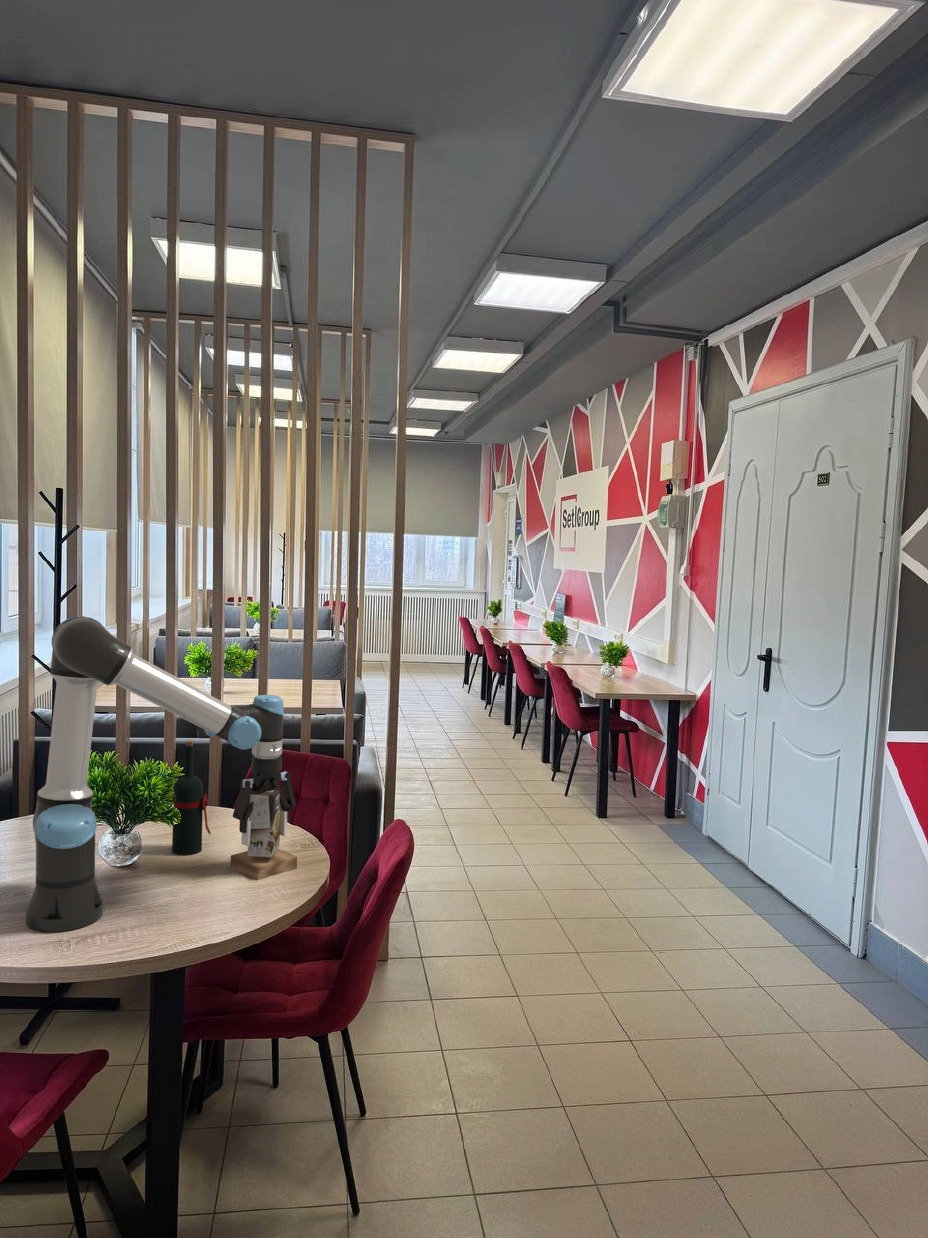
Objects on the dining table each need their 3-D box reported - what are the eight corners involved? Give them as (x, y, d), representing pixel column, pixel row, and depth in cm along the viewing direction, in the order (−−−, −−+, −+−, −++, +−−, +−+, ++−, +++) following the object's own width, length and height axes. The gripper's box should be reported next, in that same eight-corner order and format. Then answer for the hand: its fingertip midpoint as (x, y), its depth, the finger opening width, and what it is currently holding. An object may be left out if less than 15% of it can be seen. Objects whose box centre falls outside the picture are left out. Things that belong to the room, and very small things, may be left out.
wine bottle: (207, 856, 223) (210, 745, 221) (167, 855, 223) (170, 744, 221) (213, 846, 231) (216, 738, 229) (175, 845, 230) (178, 737, 228)
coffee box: (272, 858, 212) (274, 795, 211) (246, 856, 212) (248, 794, 211) (280, 846, 221) (282, 785, 220) (256, 844, 222) (258, 784, 220)
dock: (257, 880, 209) (258, 868, 209) (230, 866, 217) (230, 855, 216) (296, 868, 218) (297, 856, 218) (268, 856, 226) (269, 845, 225)
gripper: (236, 765, 204) (234, 854, 205) (311, 752, 221) (308, 834, 223) (219, 759, 209) (216, 846, 210) (294, 747, 226) (291, 827, 228)
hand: (264, 839), depth 217 cm, fingers closed on coffee box, 11 cm apart
